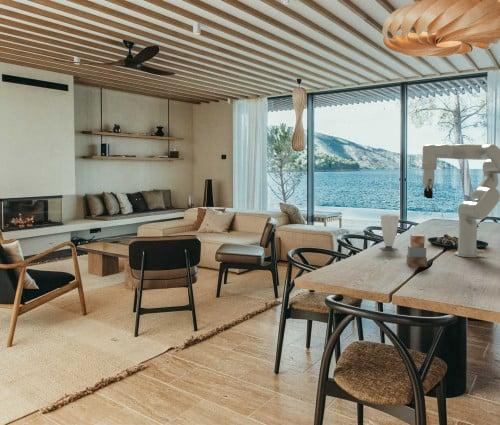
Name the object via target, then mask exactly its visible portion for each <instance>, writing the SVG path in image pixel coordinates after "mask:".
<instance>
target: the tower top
mask: <svg viewBox="0 0 500 425" xmlns="http://www.w3.org/2000/svg"><path fill="white" fill-rule="evenodd" d="M407 254H408V255H409V256H410V257H427V247H426V245H424V248H418V247H411V246H410V244H407Z"/></svg>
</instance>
